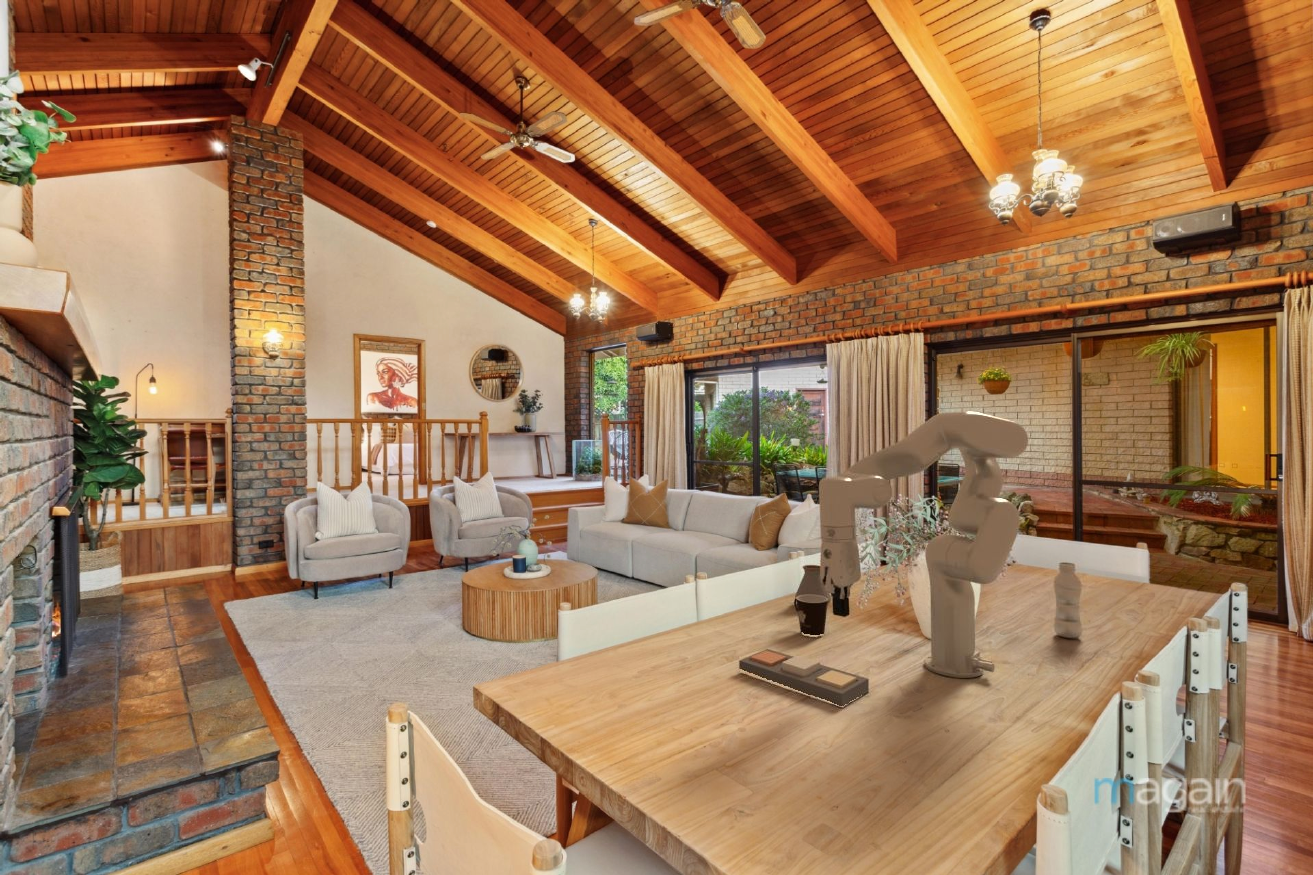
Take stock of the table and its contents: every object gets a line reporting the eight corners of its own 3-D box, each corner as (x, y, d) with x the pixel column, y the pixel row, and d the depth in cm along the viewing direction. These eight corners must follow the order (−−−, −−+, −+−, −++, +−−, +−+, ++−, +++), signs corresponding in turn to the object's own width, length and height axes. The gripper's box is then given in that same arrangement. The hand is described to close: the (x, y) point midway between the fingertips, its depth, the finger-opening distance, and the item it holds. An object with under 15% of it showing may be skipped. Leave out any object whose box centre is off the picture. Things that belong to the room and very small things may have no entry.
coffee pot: (812, 613, 195) (811, 565, 195) (787, 604, 205) (787, 559, 205) (861, 603, 205) (860, 558, 205) (835, 595, 215) (834, 552, 215)
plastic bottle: (1073, 633, 172) (1072, 561, 172) (1087, 641, 165) (1087, 566, 165) (1048, 633, 172) (1047, 561, 172) (1062, 641, 166) (1061, 566, 165)
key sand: (856, 686, 135) (856, 677, 135) (841, 695, 131) (841, 685, 131) (831, 679, 139) (831, 670, 139) (816, 687, 135) (816, 677, 135)
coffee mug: (831, 639, 170) (831, 602, 170) (800, 639, 171) (799, 602, 171) (821, 625, 182) (821, 591, 182) (791, 626, 182) (791, 592, 182)
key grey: (819, 670, 141) (819, 662, 141) (804, 678, 137) (804, 669, 137) (797, 664, 146) (797, 655, 146) (782, 671, 141) (782, 662, 141)
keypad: (868, 692, 135) (868, 678, 135) (842, 708, 128) (842, 693, 128) (767, 660, 155) (767, 648, 155) (739, 673, 147) (739, 660, 147)
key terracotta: (786, 665, 148) (786, 656, 148) (771, 672, 144) (771, 663, 144) (766, 658, 152) (766, 650, 152) (750, 665, 148) (750, 656, 148)
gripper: (836, 539, 130) (839, 626, 131) (869, 529, 141) (872, 610, 141) (805, 536, 136) (808, 620, 136) (839, 526, 146) (842, 604, 146)
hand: (841, 614), depth 138 cm, fingers closed
